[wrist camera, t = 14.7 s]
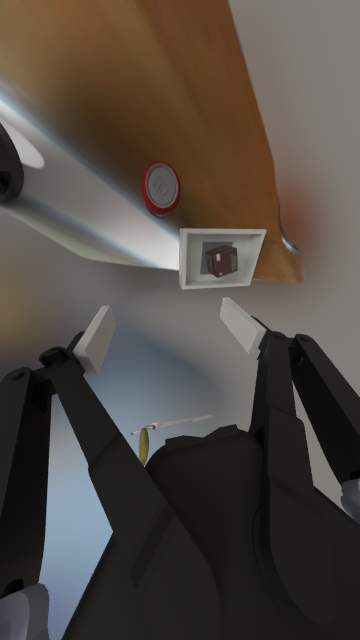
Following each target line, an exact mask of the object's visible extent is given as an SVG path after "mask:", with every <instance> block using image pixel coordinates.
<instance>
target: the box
mask: <svg viewBox="0 0 360 640" xmlns="http://www.w3.org/2000/svg"><path fill="white" fill-rule="evenodd" d="M205 254H206V261H207V267H208V272H210V273H211V274H213V275H214V276H215V277H217V278H219V277H221V276H224V275H227V274H230V273H233V272H236V271H238V263H237V248H235V247H230V246H226V245H223V246H220V247H218V248H215V249H212V250H209V251H206V252H205Z"/></svg>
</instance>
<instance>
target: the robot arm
mask: <svg viewBox="0 0 360 640" xmlns="http://www.w3.org/2000/svg"><path fill="white" fill-rule="evenodd" d="M22 186H23V169H22V164H21V161H20V158H19V155H18V152H17V150H16V148H15V146H14V144H13V142H12V140H11V138H10V136H9V135H8V133H7V132H6V130H5V129H4V127H3V126H2V124H1V123H0V203H5V202H9V201H12V200H13V199H15V198H16V197H17V196H18V195H19V193H20V192H21V189H22ZM220 318H221V319H222V321H223V322H224V323H225V325H226V326H227V327H228V328H229V330H230V331H231V332H232V333H233V335H234V336H235V337H236V339H237V340H238V341H239V342H240V344H241V345H242V346H243V348H244V349H245V350H246V351H247V353H248V354H253V353H256V352H257V349H259V350H260V351H261V352H260V354H259V356H258V358H257V360H258V359H259V362H258V370H257V379H256V386H255V395H254V402H253V411H252V419H251V425H250V428H249V431H248V432H246V431H243V430H240V429H238V428H237V425H236V424H234V425H229V426H225V427H220V428H218V429H217V430H215V431H213V432H212V433H210V434H209V435H207V436H206V437H203V438H202V437H193V436H184V435H183V436H179V437H174V438H170V439H166V440H165V442H166V444H165V445H164V446H162V447H161V448H159V449H158V450H157V451H156V452H155V453H154V454H153V455H152V457H151V458H150V459H149V461H148V462H147V464H146V466H145V468H144V466H143V465H142V463H141V462H140V460H139V459H138V457H137V456H136V454H135V453H134V451H133V450H132V448H131V447H130V445H129V444H128V443H127V441H126V439H125V438H124V436H123V435H122V434H121V432H120V431H119V429H118V428H117V426H116V425H115V423H114V422H113V420H112V419H111V417H110V416H109V414H108V413H107V411H106V410H105V408H104V407H103V406H102V404H101V402H100V401H99V399H98V398H97V396H96V395H95V393H94V392H93V390H92V389H91V387H90V386H89V384H88V383H87V382H86V380H85V379H84V377H83V374H84V372H85V373H86V374H87V376H92V375H98V374H99V371H100V368H101V366H102V363H103V360H104V357H105V355H106V352H107V349H108V347H109V344H110V341H111V338H112V336H113V333H114V330H115V328H116V324H115V321H114V318H113V315H112V311H111V308H110V306H102V307H101V309H100V310H99V312H98V314H97V315H96V316H95V318H94V319H93V321H92V322H91V324H90V325H89V327H88V328H87V330H86V331H82V332H80V333H79V334H77V335H76V336H75V337H74V339H73V341H72V342H71V343H70V344H69V346H68V347H67V349H66V350H65V348H63V347H54V348H51V349H49V350H47V351H45V352H44V353H42V354H41V355H40V357H39V361H40V362H41V363H42V364H43V365H44V368H40V369H38V370H34V371H32V370H31V369H30V368H29V367H23V368H19V369H16V370H14V371H12V372H11V373H9V374H7V375H6V376H5V377H4V378H3V379H2V380H1V382H0V640H50V639H49V635H48V628H47V624H48V611H49V594H48V590H47V588H46V587H45V585H43V584H40V583H38V582H39V576H40V570H41V565H42V559H43V551H44V541H45V527H46V505H47V486H48V485H47V484H48V465H49V443H50V423H51V401H52V395H54V394H56V393H57V394H58V397H59V399H60V401H61V403H62V406H63V408H64V410H65V412H66V415H67V417H68V419H69V421H70V424H71V426H72V428H73V430H74V433H75V435H76V437H77V440H78V442H79V444H80V446H81V449H82V451H83V453H84V455H85V457H86V460H87V462H88V466H89V467H88V472H89V476H90V478H91V481H92V483H93V485H94V488H95V490H96V492H97V495H98V497H99V499H100V502H101V504H102V507H103V509H104V511H105V513H106V516H107V518H108V520H109V523H110V525H111V527H112V530H113V533H112V535H111V537H110V540H109V542H108V544H107V546H106V548H105V550H104V552H103V554H102V556H101V558H100V560H99V562H98V565H97V566H96V569H95V571H94V573H93V575H92V577H91V579H90V581H89V583H88V585H87V587H86V589H85V591H84V593H83V595H82V598H81V599H80V602H79V604H78V606H77V608H76V610H75V612H74V614H73V616H72V618H71V620H70V622H69V624H68V626H67V628H66V630H65V633H64V635H63V637H62V639H61V640H360V397H359V396H358V395H357V393H356V392H355V391H354V390H353V388H352V387H351V386H350V385H349V383H348V382H347V381H346V380H345V378H344V377H343V376H342V375H341V373H340V372H339V371H338V369H337V368H336V367H335V366H334V364H333V363H332V362H331V361H330V359H329V358H328V357H327V356H326V354H325V353H324V352H323V350H322V349H321V348H320V347H319V345H318V344H317V343H316V342H315V341H314V340H313V338H311V337H309V336H307V335H304V334H296V336H295V337H294V338H288V337H286V336H285V335H284V334H282V333H280V332H276V331H271V330H270V329H269V328H268V327H266V326H265V325H264V324H263V323H262V322H260V321H259V320H258V319H257V318H255V317H253V316H250V315H249V314H247V313H246V312H245V311H244V310H243V309H242V308H241V307H239V306H238V305H237V304H236V303H235V302H234V301H232V300H231V299H230V298H229V297H228V298H223V302H222V307H221V312H220ZM292 381H293V383H294V385H295V387H296V390H297V392H298V395H299V397H300V399H301V401H302V404H303V406H304V408H305V411H306V413H307V415H308V418H309V420H310V422H311V425H312V427H313V429H314V432H315V434H316V436H317V439H318V441H319V443H320V445H321V448H322V450H323V453H324V455H325V457H326V459H327V461H328V463H329V465H330V467H331V469H332V471H333V473H334V475H335V476H336V478H337V480H338V482H339V483H340V485H341V487H342V493H343V496H341V503H342V506H343V507H344V509H345V510H346V512H347V513H348V514H349V515H350V516H351V517H352V518H353V519H352V518H351V517H350V516H349V515H348V514H346V513H345V512H344V511H343V510H342V509H341V508H339V507H338V506H337V505H336V504H335V503H334V502H332V501H331V500H330V499H329V498H328V497H326V496H325V495H324V494H323V493H322V492H321V491H319V490H318V489H317V488H316V487H315V486H314V485H313V480H312V473H311V467H310V460H309V454H308V447H307V440H306V434H305V427H304V424H303V422H302V420H300V419H298V418H297V417H296V409H295V401H294V393H293V384H292Z"/></svg>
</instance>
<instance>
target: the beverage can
mask: <svg viewBox="0 0 360 640" xmlns="http://www.w3.org/2000/svg"><path fill="white" fill-rule="evenodd" d="M142 192H143V197H144V201H145V204H146V207H147V209H148V210H149V212H150V213H151V214H152V215H154V216H155V217H159V218H162V217H165V216H167V215H168V214H169V213H171V212H172V211H173V209H174V208H175V207H176V206H177V204H178V202H179V198H180V182H179V179H178V176H177V174H176V172H175V171H174V169H173V168H172V167H171V166H170V165H169V164H167V163H165V162H162V161H156V162H153V163H151V164H150V165H149V166H148V167H147V168H146V170H145V172H144V174H143V178H142Z"/></svg>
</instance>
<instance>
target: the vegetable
mask: <svg viewBox="0 0 360 640" xmlns="http://www.w3.org/2000/svg"><path fill="white" fill-rule="evenodd" d="M148 449H149V438H148V432H147V430H146V429H145V428H143V429H142V430H141V433H140V446H139V460H140V462H141V463H142V465H143V466H144V465H145V462H146V460H147V456H148Z"/></svg>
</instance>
